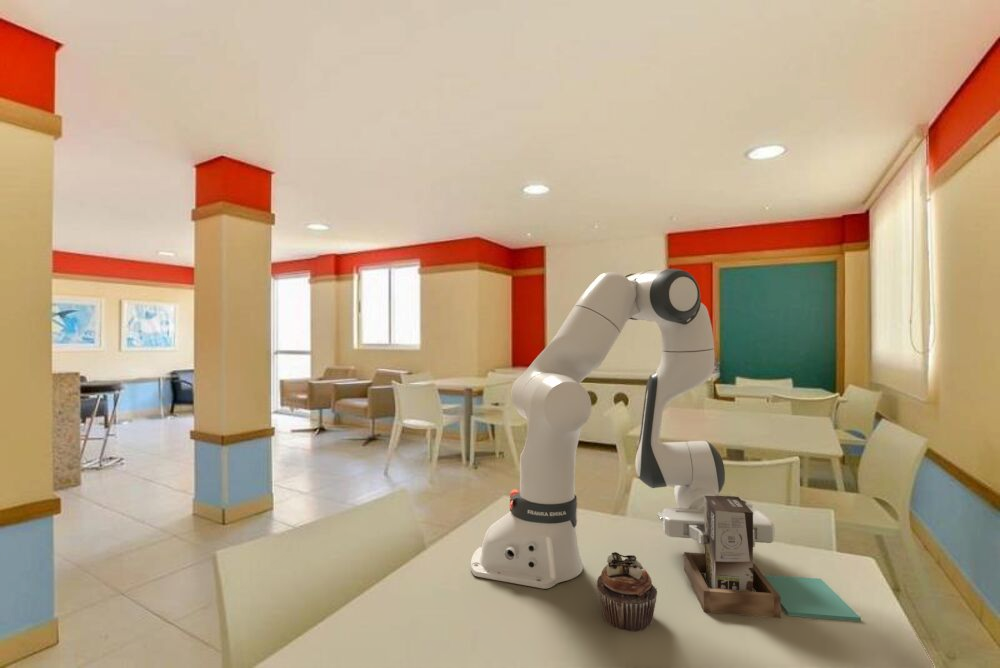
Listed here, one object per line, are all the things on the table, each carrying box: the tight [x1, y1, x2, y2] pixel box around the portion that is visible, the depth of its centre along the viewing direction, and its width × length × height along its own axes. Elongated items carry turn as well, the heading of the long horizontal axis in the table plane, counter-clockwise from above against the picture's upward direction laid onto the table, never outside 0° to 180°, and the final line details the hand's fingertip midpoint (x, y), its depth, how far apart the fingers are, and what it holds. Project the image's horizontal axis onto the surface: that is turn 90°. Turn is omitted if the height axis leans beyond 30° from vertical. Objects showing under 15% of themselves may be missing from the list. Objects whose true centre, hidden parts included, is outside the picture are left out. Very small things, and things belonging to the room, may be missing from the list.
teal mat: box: [763, 574, 862, 622], centre depth 86 cm, size 11×13×1 cm
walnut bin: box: [683, 551, 782, 619], centre depth 88 cm, size 12×15×4 cm
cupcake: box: [596, 551, 658, 632], centre depth 80 cm, size 10×10×10 cm
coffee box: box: [704, 495, 754, 592], centre depth 88 cm, size 9×6×16 cm
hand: (727, 541), depth 88 cm, fingers closed on coffee box, 6 cm apart
